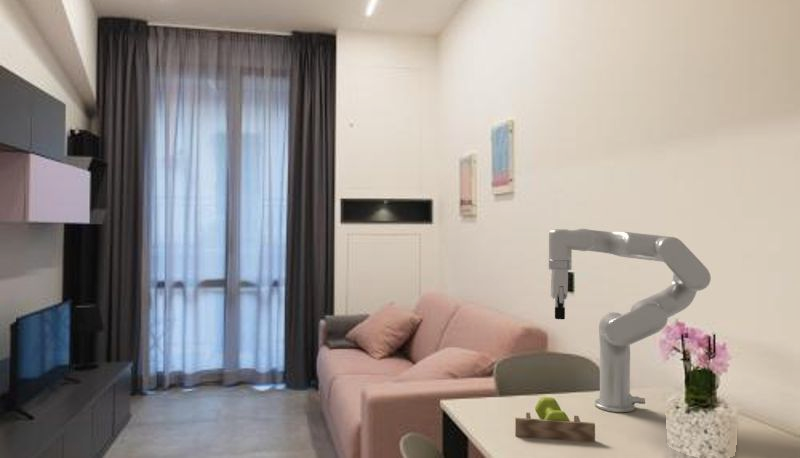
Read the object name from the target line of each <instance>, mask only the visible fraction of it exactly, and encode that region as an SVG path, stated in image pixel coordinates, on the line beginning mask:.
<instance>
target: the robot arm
mask: <svg viewBox="0 0 800 458" xmlns="http://www.w3.org/2000/svg"><path fill="white" fill-rule="evenodd" d="M573 251H580V252H595V253H603V254H609V255H613V256H616V257H622V258H628V259H629V258H630V259H639V260H647V261H655V262H661V263H662V262H663V263H664V264H665V265H666V266H667V267H668V269H670V271H671V273H673V276H672V281H671V283H670V285H669V286H668V287H665V289H663V290H662V291H660V292H657V293H655V294H653V295H652V294H651V295H650V296H649V297H647V298H644V299H641V300H638V301H637V302H635V303H634V304H633V305H632V306H631V307H630V311H628V312H626V313H624V314H621V313H619V312H615V311H613V312H608V313H606V314H605V315H603V316H602V318H601V319H600V321H599V325H598V335H599V336H598V337H599V398H597V399H595V400H594V405H595V407H596V408H598V409H601V410H604V411H608V412H613V413H628V412H632V411H634V410H635V406H636V404H639V405H645V404H646V398H645V397H640V396H638V395H635V396H633V395H632V393H630V392H631V387H630V386H631V345H633V344H636V343H638V342H639V341H642V340H645V339H647V338H649V337H651V336H653V335H656V334H657V333H659V332H660V331H662V330H663V329H664V328H665V327H666V325H667V323H668V321H669V320H668V318H671V317H673V316H675V315H676V314H678V313H680V312H682V311H684V310H685V309H687V308H688V307H689V306H690V305H691V304H692V302H693V301H694V299H695V298H696V296H697V292H699V291H703V290H704V289H706V288H708V286H709V285H710V282H711V279H712V278H711V273H710V271H709V269H708V268H707V267H706V266H705V265H704V263H702V261H701V260H700V259H699V258H698V257H697V256H696V255H695V254H694V253H693V252H692V251H691V250H690V249H689V247H687V246H686V245H685V243H684V242H683V241H682V240H680V239H679V238H677V237H674V236H665V235H656V234H649V233H648V234H647V233H639V232H629V231H606V230H593V229H589V228H588V229H587V228H578V229H571V230H570V229H564V228H563V229H562V228H559V229H558V228H557V229H551V230H550V231H549V233H548V270H549V271H551V275H550V276H551V279H550V280H551V281H550V297H551V299H552V300H554V299H555V302H554V303H555V307H554V319H555V320H565V319H566V307H565V304H566V303H565V300H567V299H568V292H569V291H568V289H569V288H568V287H569V285H568V284H569V271H571V270H572V266H573V265H572V264H573V263H572V262H573V261H572V260H573V259H572V257H573V256H572V254H573Z"/></svg>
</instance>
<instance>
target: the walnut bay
mask: <svg viewBox="0 0 800 458" xmlns="http://www.w3.org/2000/svg"><path fill="white" fill-rule="evenodd" d="M514 424H515V427H514V428H515V432H514V434H515V437H520V438H521V437H522V438H534V439H535V438H536V439H550V440H561V441H562V440H563V441H576V442H577V441H578V442H592V443H595V442H596V423H595V422H585V421H581V420H580V417H579V415H573V420H570V421H559V420H544V419H540V418H532V417H531V412H525V417H515V423H514Z"/></svg>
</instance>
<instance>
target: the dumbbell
mask: <svg viewBox="0 0 800 458" xmlns="http://www.w3.org/2000/svg"><path fill="white" fill-rule="evenodd" d="M534 410H535V413H536V414H537V416H538V419H544V420H559V421H571V420H570V418H569V417H568V415H567V414H566V412H565V411H563V410H561V406H560V405H559V403H558V401H557V400H556V399H555V398H554V397H551V396H550V397H548V396H546V397H540V398H539V400H538V401H537V403H536V405H535V407H534Z"/></svg>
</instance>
